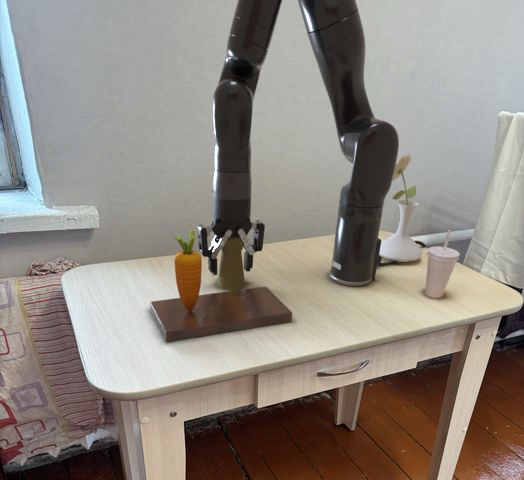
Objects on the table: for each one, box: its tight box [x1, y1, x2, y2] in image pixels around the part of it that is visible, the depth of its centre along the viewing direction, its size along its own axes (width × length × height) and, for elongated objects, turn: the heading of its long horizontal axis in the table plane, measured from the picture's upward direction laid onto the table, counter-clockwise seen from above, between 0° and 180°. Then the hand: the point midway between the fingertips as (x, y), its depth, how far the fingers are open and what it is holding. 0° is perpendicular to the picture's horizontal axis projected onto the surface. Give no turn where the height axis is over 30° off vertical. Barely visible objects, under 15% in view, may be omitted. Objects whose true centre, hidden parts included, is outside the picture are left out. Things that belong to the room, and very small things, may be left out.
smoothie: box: [424, 229, 461, 299], centre depth 105 cm, size 6×6×14 cm
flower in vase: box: [379, 153, 423, 263], centre depth 121 cm, size 13×11×25 cm
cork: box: [216, 237, 246, 291], centre depth 106 cm, size 6×6×11 cm
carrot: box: [174, 229, 203, 312], centre depth 89 cm, size 5×5×15 cm
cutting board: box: [149, 285, 293, 343], centre depth 95 cm, size 24×12×2 cm, turn 113°
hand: (230, 271), depth 107 cm, fingers open, 7 cm apart
